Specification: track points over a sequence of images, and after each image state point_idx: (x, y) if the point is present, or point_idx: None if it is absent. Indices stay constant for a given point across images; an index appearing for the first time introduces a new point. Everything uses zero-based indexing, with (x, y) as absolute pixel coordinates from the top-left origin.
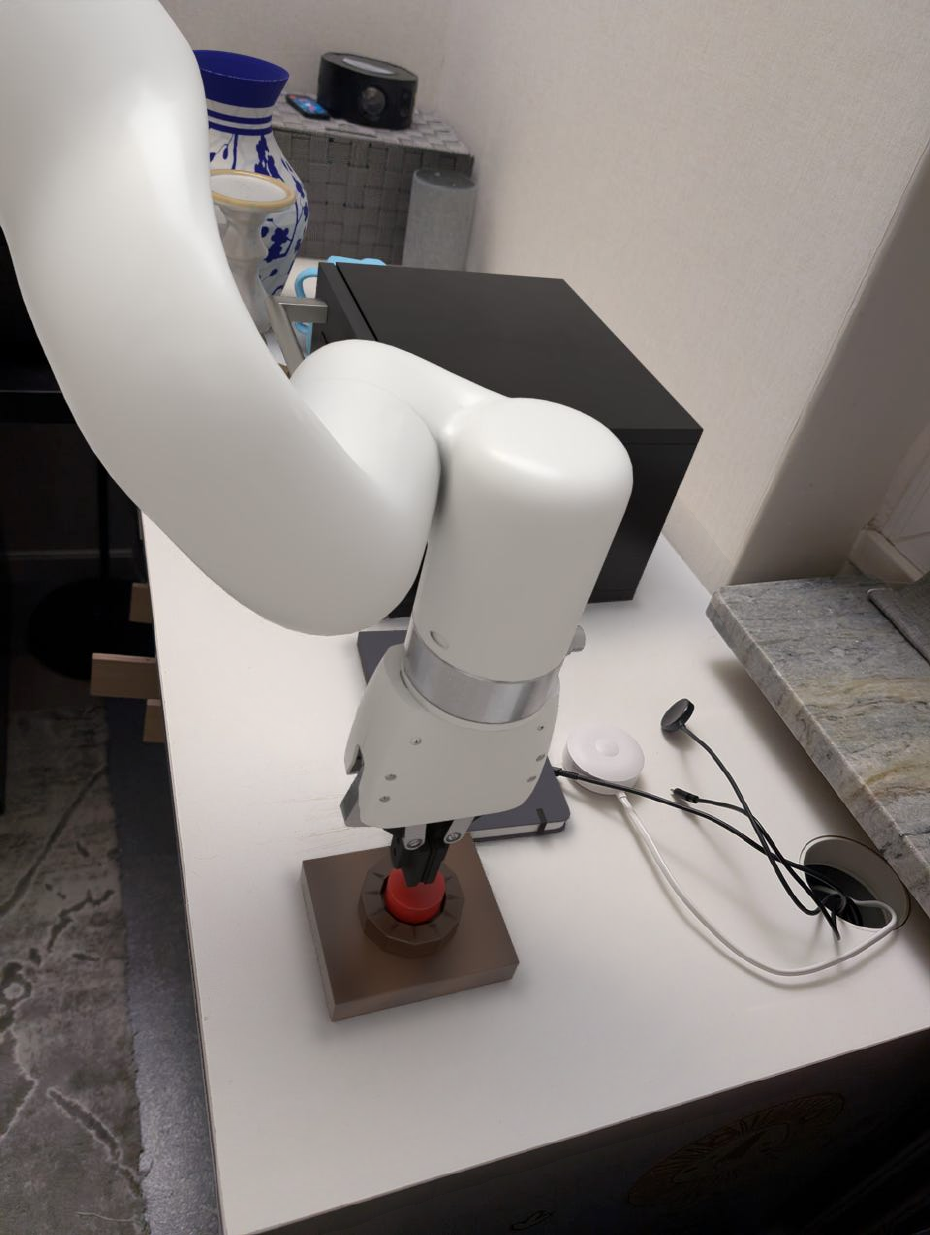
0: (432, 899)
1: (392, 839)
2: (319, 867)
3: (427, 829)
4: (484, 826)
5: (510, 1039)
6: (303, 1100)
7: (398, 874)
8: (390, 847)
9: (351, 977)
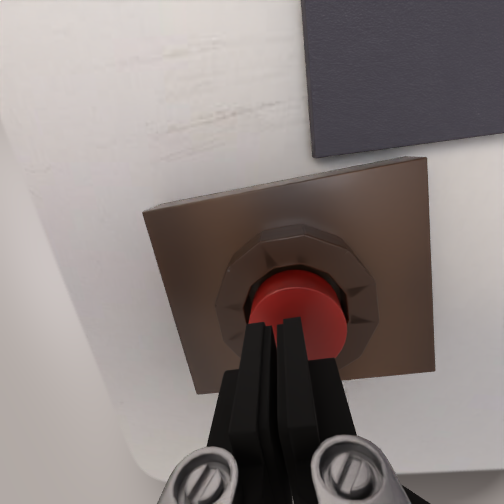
0: (319, 358)
1: (219, 393)
2: (166, 225)
3: (292, 493)
4: (459, 133)
5: (392, 400)
6: (184, 422)
7: (266, 314)
8: (225, 373)
9: (214, 370)
